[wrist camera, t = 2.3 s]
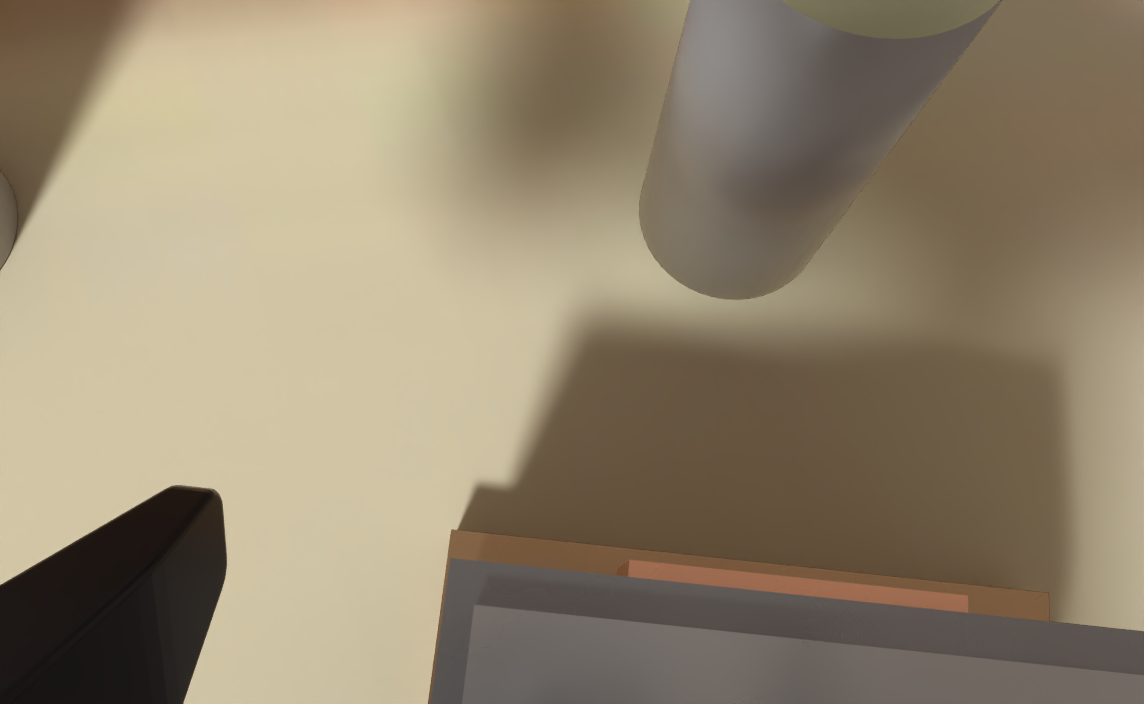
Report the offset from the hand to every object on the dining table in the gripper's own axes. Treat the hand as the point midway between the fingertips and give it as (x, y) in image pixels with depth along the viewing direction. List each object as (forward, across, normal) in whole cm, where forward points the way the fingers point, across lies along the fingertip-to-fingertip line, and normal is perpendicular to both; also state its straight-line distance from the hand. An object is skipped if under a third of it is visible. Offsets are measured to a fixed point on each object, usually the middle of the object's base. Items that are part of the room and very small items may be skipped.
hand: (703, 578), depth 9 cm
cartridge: (+17, -2, +2) cm, 17 cm away
